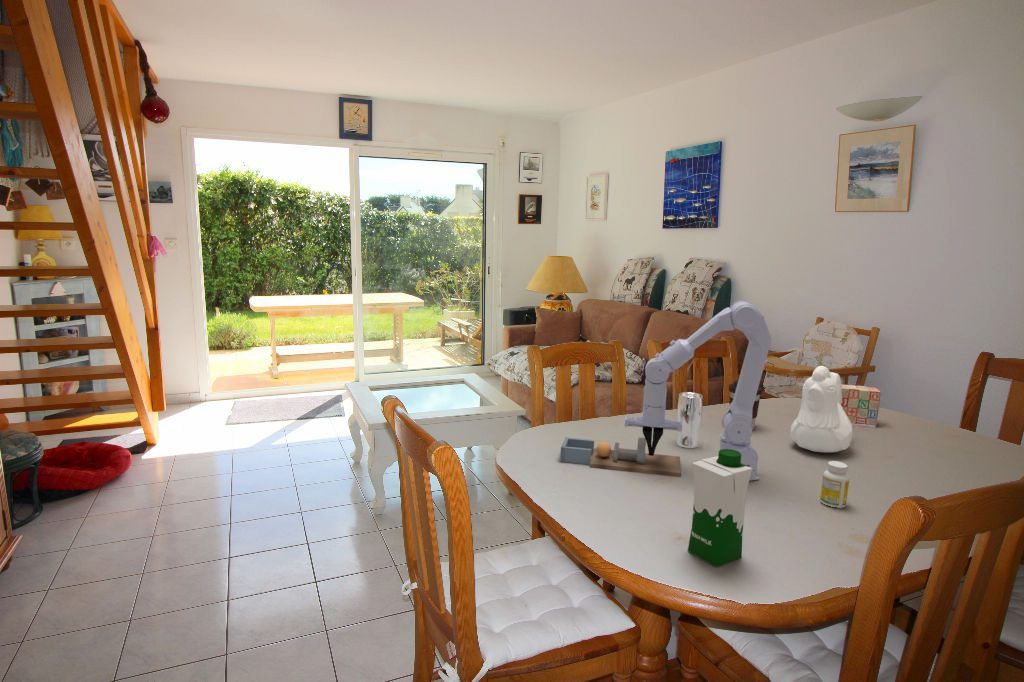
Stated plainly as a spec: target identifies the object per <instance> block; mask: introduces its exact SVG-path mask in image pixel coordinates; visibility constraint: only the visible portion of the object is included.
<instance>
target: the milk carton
mask: <svg viewBox="0 0 1024 682" xmlns="http://www.w3.org/2000/svg"><path fill="white" fill-rule="evenodd" d="M740 462H741V453H740V452H738V451H735V450H731V449H722V450H720V449H719V450H718V455H716V456H711V457H707V458H702V459H700V460H698V461H695V462H691V465H692V472H693V477H694V478H693V479H694V493H693V508H692V518H691V519H692V521H691V523H692V524H691V530H690V536H689V542H688V546H687V551H688V552H689V553H691V554H693V555H695V556H696V557H698V558H700V559H701V560H702V561H703V560H704V561H705V562H707V563H709V564H710V565H712V566H714V567H716V568H718V567H721V566H723V565H725V564H729V563H732V562H734V561H735V560H738V559H741V558H742V556H743V555H742V553H743V535H744V524H745V523H744V522H745V515H746V514H745V513H746V512H745V510H746V504H747V503H746V501H747V491H748V487H749V483H750V481H751V480H750V476H751V472H752V468H750V467H747V466H746V465H744V464H742V463H740ZM749 480H750V481H749Z"/></svg>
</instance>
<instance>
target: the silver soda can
mask: <svg viewBox="0 0 1024 682" xmlns="http://www.w3.org/2000/svg"><path fill="white" fill-rule="evenodd" d="M703 397H704V396H703V395H702V394H701V393H697V392H694V391H692V392H691V391H683V392H680V393H678V399H677V411H676V412H677V415H676V416H677V422H682V432H681V431H678V436H677V439H676V445H677V446H678V447H680V448H683V447H684V449H696V447H697V448H698V447H699V439H698V438H699V437H698V436H699V435H698V433H699V428H700V424H701V422H702V421H701V420H702V418H703V417H702V416H703V411H704V409H703V407H704V406H703V405H704V401H703V400H704V399H703Z"/></svg>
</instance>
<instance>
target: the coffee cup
mask: <svg viewBox="0 0 1024 682" xmlns="http://www.w3.org/2000/svg"><path fill="white" fill-rule="evenodd" d="M738 380H739V379H737V380H734V381H733V383H731V384H729V385H728V391H729V392H730V393H729V405H730V404H731V403H732V401H733V399H734V395H735V391H736V388H737V384H738ZM762 394H763V388H762V387H761V386H760V385H759V386H758V390H757V394H756V397H755V401H754V404H753V409H752V421H751V428H752V431H753V430H754V429H755V424H756V420H757V417H758V413H759V406H760V396H761V395H762Z"/></svg>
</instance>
